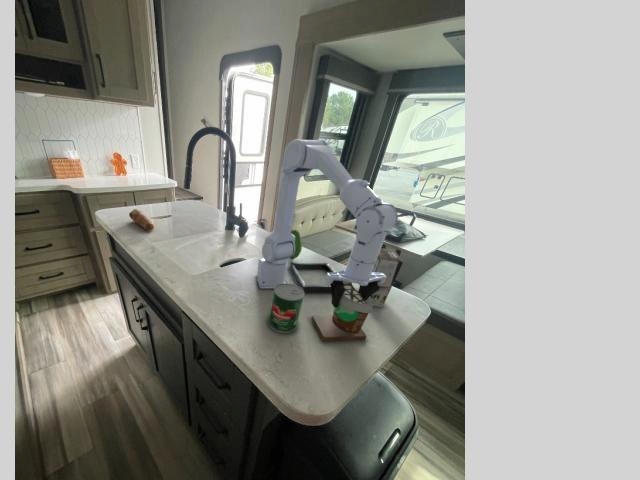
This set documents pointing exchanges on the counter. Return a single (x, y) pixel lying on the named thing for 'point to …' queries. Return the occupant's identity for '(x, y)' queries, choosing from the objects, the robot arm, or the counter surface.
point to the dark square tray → (311, 266)
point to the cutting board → (334, 330)
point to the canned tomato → (286, 307)
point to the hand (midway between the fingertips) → (345, 305)
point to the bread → (141, 219)
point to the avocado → (296, 243)
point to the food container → (351, 310)
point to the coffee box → (390, 267)
